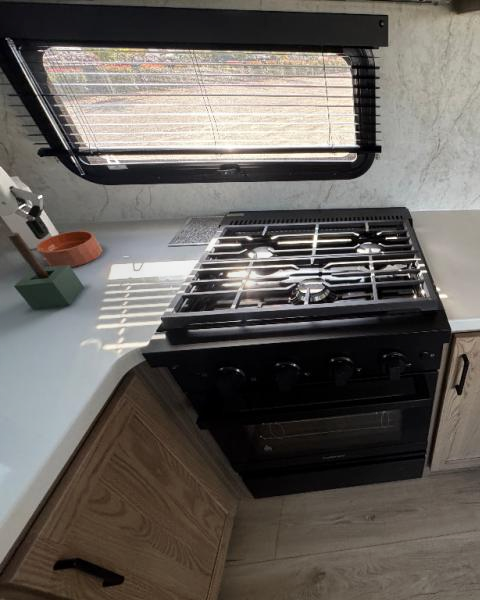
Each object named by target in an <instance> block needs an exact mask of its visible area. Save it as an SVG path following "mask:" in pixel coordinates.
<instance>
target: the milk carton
mask: <svg viewBox="0 0 480 600" xmlns="http://www.w3.org/2000/svg"><path fill="white" fill-rule="evenodd" d="M9 177H10V178H11V179H12V180H13V182H14V183H15V184H16V185H17V187H18V188H19V189H22V190H25V191H29V192H32V190H31V188H30V187H29V186H28V185H27V184H26V183H24V182H23V181H22V180H21V179H20V178H19V176H18V175H16V176H9ZM26 201H27V205H29V206H31V207H32V202H31V201H29V200H26ZM22 210H23V209H22ZM24 211H25V210H24ZM26 212H27V211H26ZM28 213H29V212H28ZM0 217H1V219H2V221H3V222H4V223H5V225H6V226H7V227H8V228H9V230H10V231H11V233H19V235H20V236H21V237H22V239H23V240H24V242H25V243H26V244H27V246H28V247H29V248H30V250H34V249H36V247H37V245H38V244H39V243H40V242H41V241H43V240H45V239H47V238H49V237H52V236H55V235H58V234H60V233H59V232H58V230H57V228H56V227H55V226H54V224H53V222H52V221H51V219H50V218H49V216H48V215H47V213H46V211H45V210H44V209H43V211H42V213H41V215H40V218H41V219H42V221H43V222H44V224H45V225H46V227H47V228H48V231H49V234H48V235H47V236H45V237H44V238H43V239H37V238H36V237H35V235H34V234H33V232H32V231H31V230H30V228H29V227H28V225H27V224H26V222H27V221H28V220H27V219H25V218H23V217H21V216H19V215H17V214H15V213H14V214H11V215H5V216H0Z"/></svg>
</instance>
